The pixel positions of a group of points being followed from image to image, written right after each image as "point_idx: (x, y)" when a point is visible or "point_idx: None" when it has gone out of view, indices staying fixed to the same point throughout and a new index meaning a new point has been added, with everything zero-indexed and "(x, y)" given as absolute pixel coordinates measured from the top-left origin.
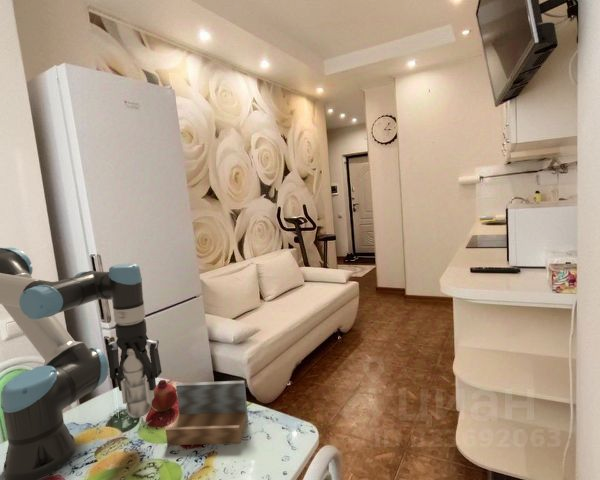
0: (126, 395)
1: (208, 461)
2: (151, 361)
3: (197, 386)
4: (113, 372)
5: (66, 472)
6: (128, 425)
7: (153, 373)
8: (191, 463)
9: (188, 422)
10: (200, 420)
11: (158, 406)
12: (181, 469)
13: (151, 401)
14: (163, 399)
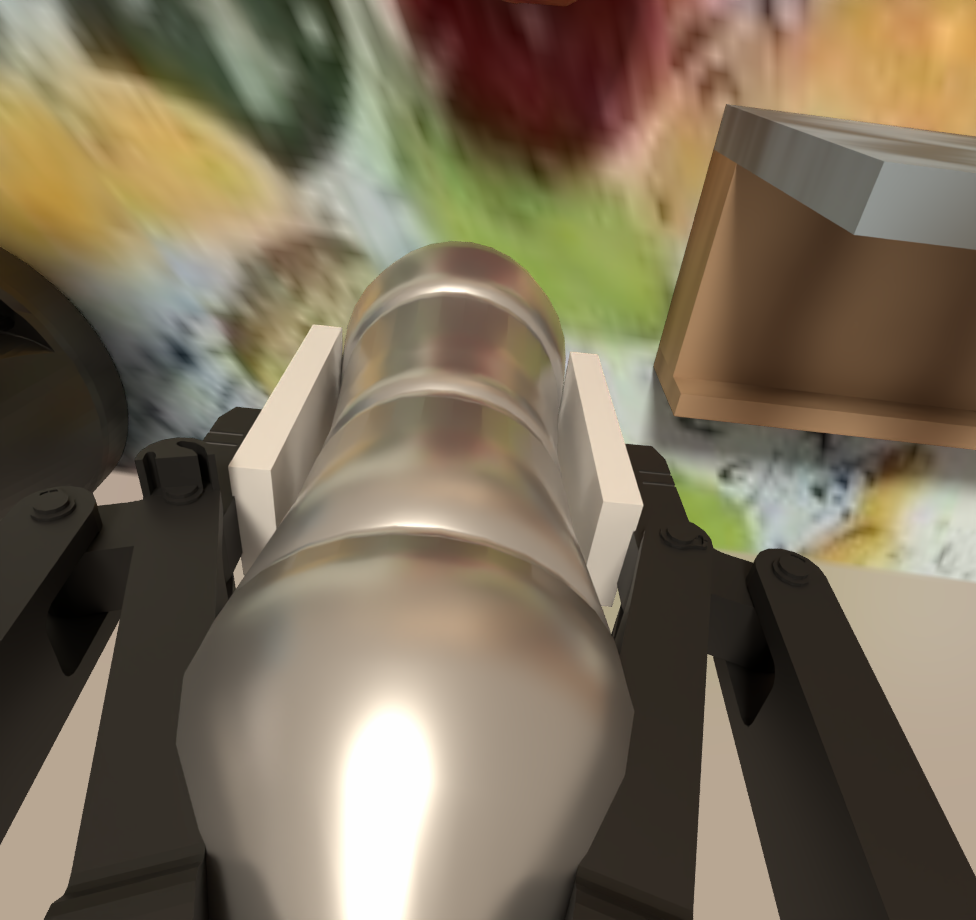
0: (328, 430)
1: (877, 505)
2: (786, 906)
3: None
4: (82, 670)
5: None
6: (285, 90)
7: (728, 692)
8: (794, 505)
9: (813, 289)
10: (907, 281)
11: (517, 3)
12: (747, 529)
13: (563, 345)
14: None
